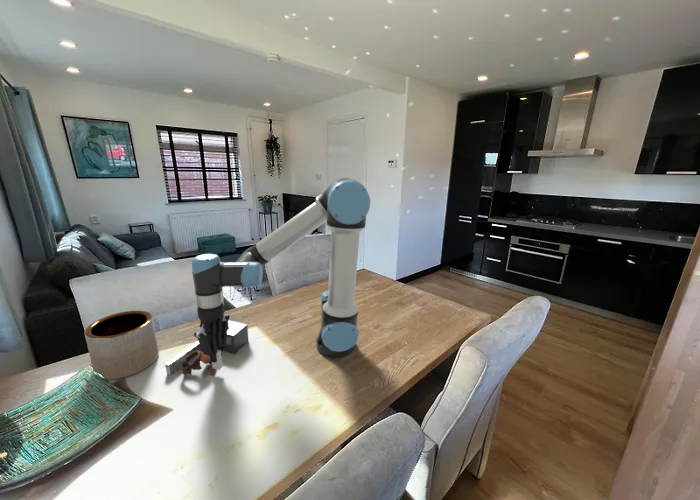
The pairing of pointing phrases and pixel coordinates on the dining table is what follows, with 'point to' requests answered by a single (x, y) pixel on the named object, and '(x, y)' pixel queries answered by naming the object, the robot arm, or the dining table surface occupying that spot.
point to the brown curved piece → (196, 363)
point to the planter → (122, 344)
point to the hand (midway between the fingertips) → (217, 367)
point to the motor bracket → (234, 343)
